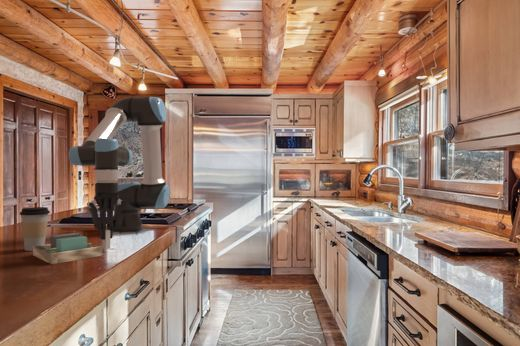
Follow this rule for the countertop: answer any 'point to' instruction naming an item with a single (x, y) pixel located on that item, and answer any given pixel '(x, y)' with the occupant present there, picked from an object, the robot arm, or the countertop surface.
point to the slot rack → (65, 253)
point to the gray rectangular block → (53, 237)
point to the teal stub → (71, 243)
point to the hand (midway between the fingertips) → (106, 248)
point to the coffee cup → (34, 226)
